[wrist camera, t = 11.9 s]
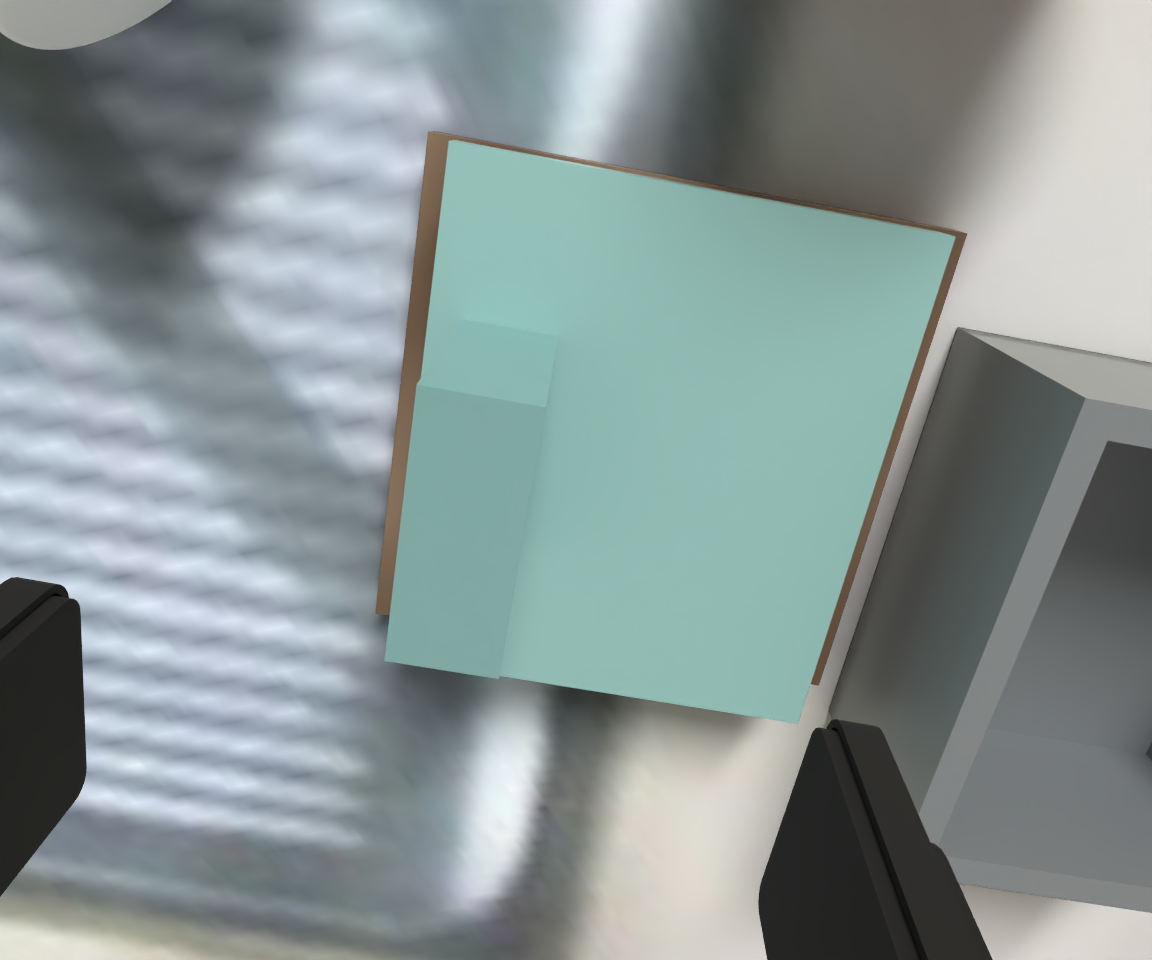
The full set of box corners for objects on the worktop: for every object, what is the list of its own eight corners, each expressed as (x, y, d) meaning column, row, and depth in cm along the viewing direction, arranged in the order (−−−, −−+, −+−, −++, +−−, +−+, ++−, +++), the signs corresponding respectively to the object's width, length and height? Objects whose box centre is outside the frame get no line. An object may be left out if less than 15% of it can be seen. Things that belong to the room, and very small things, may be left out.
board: (952, 229, 24) (967, 233, 23) (811, 667, 29) (818, 685, 28) (434, 131, 24) (428, 132, 23) (382, 597, 29) (375, 613, 28)
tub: (1329, 395, 26) (1580, 487, 19) (1145, 761, 30) (1295, 934, 24) (957, 327, 25) (1086, 398, 19) (828, 710, 30) (894, 873, 23)
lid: (923, 227, 23) (1086, 277, 16) (782, 680, 28) (852, 885, 21) (461, 139, 23) (395, 146, 15) (402, 618, 28) (330, 806, 20)
